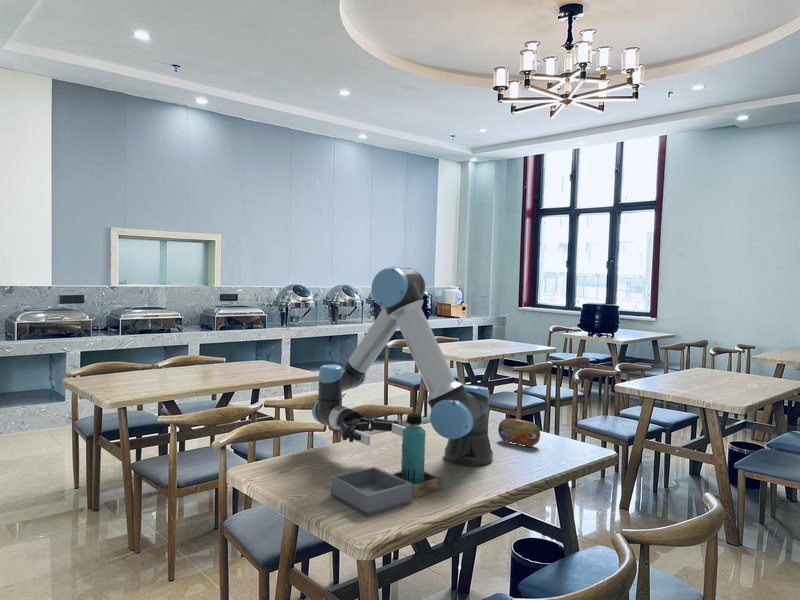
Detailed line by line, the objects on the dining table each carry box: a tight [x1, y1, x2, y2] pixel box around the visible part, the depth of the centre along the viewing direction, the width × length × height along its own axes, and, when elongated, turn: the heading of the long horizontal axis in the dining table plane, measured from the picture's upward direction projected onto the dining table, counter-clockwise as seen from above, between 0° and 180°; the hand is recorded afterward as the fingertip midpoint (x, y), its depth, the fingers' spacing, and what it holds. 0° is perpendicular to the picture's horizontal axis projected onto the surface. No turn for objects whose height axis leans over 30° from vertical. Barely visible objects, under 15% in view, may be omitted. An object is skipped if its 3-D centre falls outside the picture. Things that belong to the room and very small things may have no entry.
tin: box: [498, 418, 541, 448], centre depth 201 cm, size 15×3×8 cm, turn 50°
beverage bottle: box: [400, 413, 426, 485], centre depth 156 cm, size 6×7×20 cm
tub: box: [329, 466, 413, 518], centre depth 148 cm, size 14×16×5 cm
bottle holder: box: [390, 470, 443, 499], centre depth 157 cm, size 11×11×3 cm
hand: (388, 436), depth 165 cm, fingers open, 13 cm apart
